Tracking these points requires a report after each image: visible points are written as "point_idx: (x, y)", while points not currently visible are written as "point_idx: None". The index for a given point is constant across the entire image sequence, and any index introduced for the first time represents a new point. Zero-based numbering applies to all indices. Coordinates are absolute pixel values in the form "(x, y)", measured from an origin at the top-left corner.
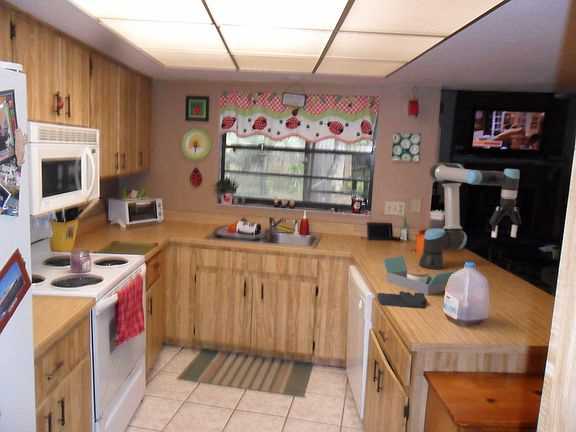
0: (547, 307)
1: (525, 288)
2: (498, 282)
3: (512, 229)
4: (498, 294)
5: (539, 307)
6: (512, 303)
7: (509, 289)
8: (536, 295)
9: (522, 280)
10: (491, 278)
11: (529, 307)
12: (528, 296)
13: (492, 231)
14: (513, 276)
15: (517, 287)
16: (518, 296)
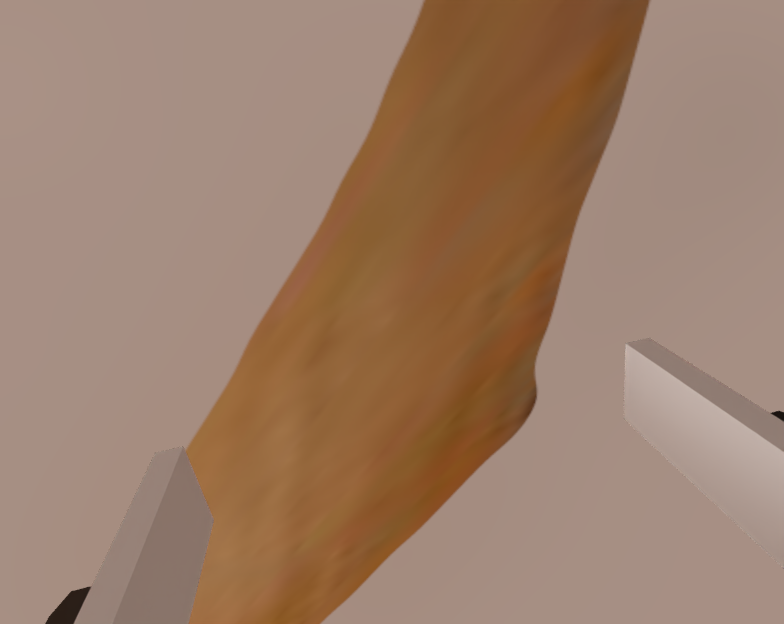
0: (358, 583)
1: (479, 319)
2: (388, 190)
3: (733, 440)
4: (223, 438)
5: (319, 588)
6: (216, 557)
7: (358, 344)
8: (442, 436)
9: (610, 135)
10: (404, 75)
11: (269, 593)
12: (383, 454)
13: (118, 551)
14: (634, 14)
15: (442, 301)
16: (324, 459)
